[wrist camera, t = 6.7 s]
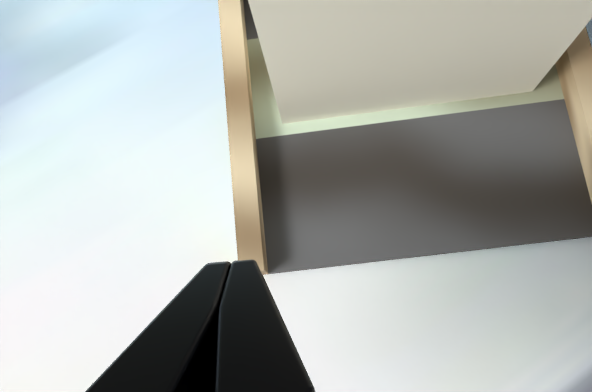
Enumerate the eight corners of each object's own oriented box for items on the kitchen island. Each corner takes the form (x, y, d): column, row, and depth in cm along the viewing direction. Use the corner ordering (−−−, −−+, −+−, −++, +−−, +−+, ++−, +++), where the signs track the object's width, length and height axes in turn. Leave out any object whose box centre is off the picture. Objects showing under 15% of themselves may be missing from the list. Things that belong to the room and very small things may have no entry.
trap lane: (622, 233, 21) (642, 226, 19) (245, 276, 22) (239, 273, 20) (543, -56, 24) (555, -79, 23) (222, -10, 25) (215, -29, 24)
